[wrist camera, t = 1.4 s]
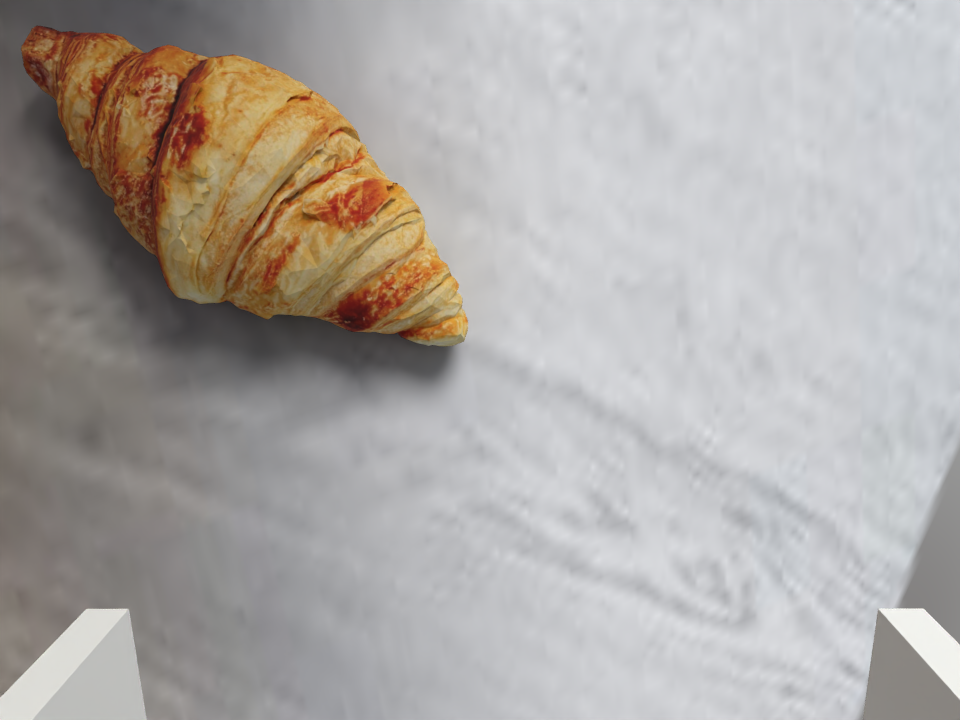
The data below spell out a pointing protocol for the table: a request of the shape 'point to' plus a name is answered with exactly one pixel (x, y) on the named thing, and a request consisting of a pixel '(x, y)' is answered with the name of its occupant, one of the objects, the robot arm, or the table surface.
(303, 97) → the croissant
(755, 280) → the table surface
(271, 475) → the table surface
